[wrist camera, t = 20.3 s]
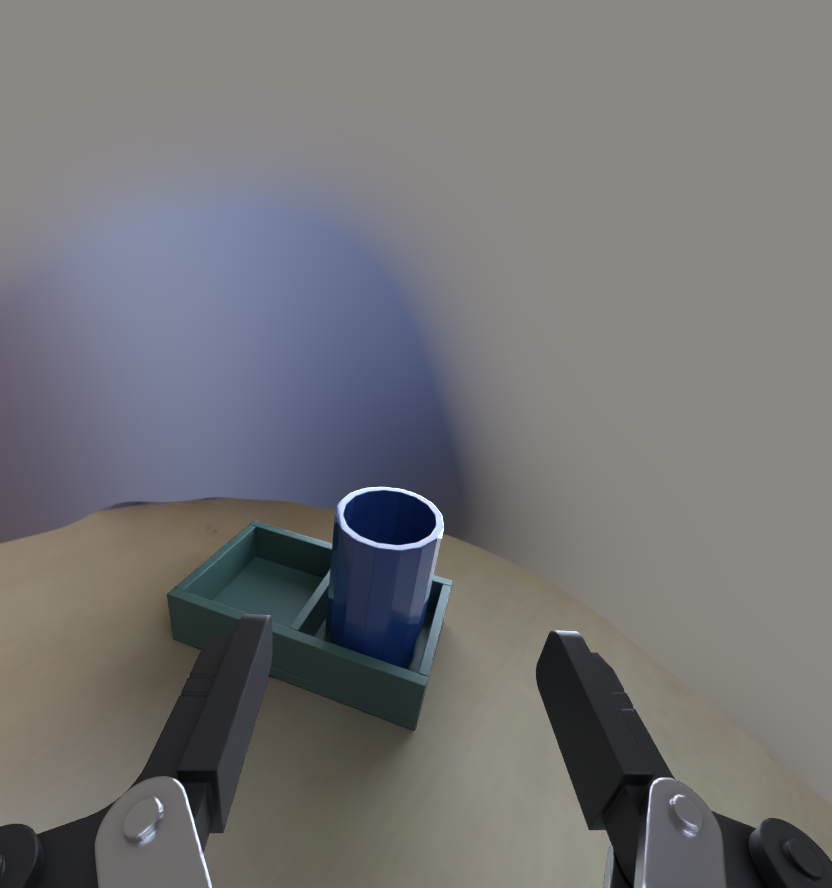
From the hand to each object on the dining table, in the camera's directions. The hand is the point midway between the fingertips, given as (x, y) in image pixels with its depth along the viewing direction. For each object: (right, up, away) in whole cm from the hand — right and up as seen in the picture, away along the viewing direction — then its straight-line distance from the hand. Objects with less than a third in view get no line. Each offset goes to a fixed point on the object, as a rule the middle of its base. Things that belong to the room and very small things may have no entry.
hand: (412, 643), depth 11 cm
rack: (-7, -7, +16) cm, 19 cm away
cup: (-3, -7, +15) cm, 17 cm away
